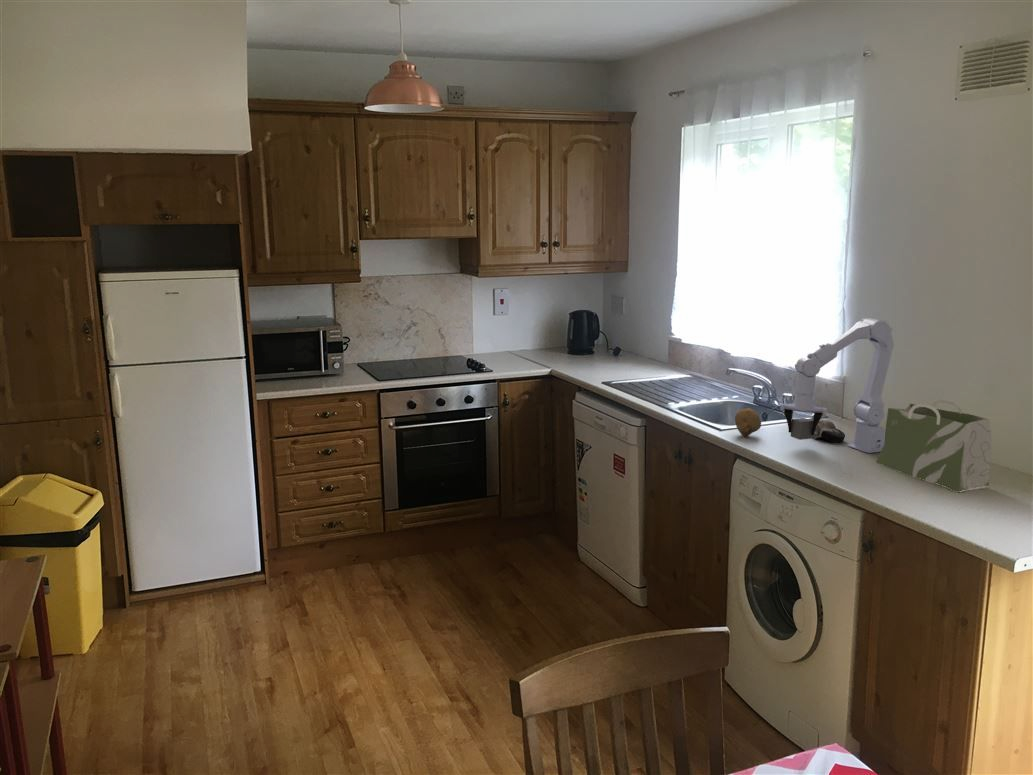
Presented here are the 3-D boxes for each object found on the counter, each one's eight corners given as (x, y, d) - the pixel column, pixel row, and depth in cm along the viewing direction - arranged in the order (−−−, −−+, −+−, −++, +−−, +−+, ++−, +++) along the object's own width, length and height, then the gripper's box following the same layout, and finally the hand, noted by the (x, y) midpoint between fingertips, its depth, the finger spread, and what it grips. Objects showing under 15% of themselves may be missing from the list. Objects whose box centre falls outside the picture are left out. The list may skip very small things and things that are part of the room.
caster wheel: (844, 450, 301) (818, 446, 299) (830, 435, 312) (805, 431, 310) (851, 433, 299) (825, 429, 297) (836, 418, 309) (811, 414, 307)
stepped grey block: (817, 437, 290) (819, 420, 289) (799, 439, 287) (801, 422, 286) (807, 434, 294) (809, 417, 293) (790, 436, 291) (792, 419, 290)
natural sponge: (757, 433, 310) (760, 406, 308) (762, 439, 302) (764, 411, 300) (731, 432, 311) (734, 405, 309) (735, 438, 303) (737, 410, 301)
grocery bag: (872, 462, 277) (880, 391, 272) (904, 459, 283) (913, 389, 278) (957, 493, 248) (967, 414, 244) (991, 488, 254) (1002, 411, 249)
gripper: (829, 393, 288) (825, 433, 291) (783, 389, 294) (780, 427, 296) (827, 397, 282) (823, 437, 285) (781, 392, 287) (777, 432, 290)
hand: (801, 433), depth 290 cm, fingers closed on stepped grey block, 7 cm apart
